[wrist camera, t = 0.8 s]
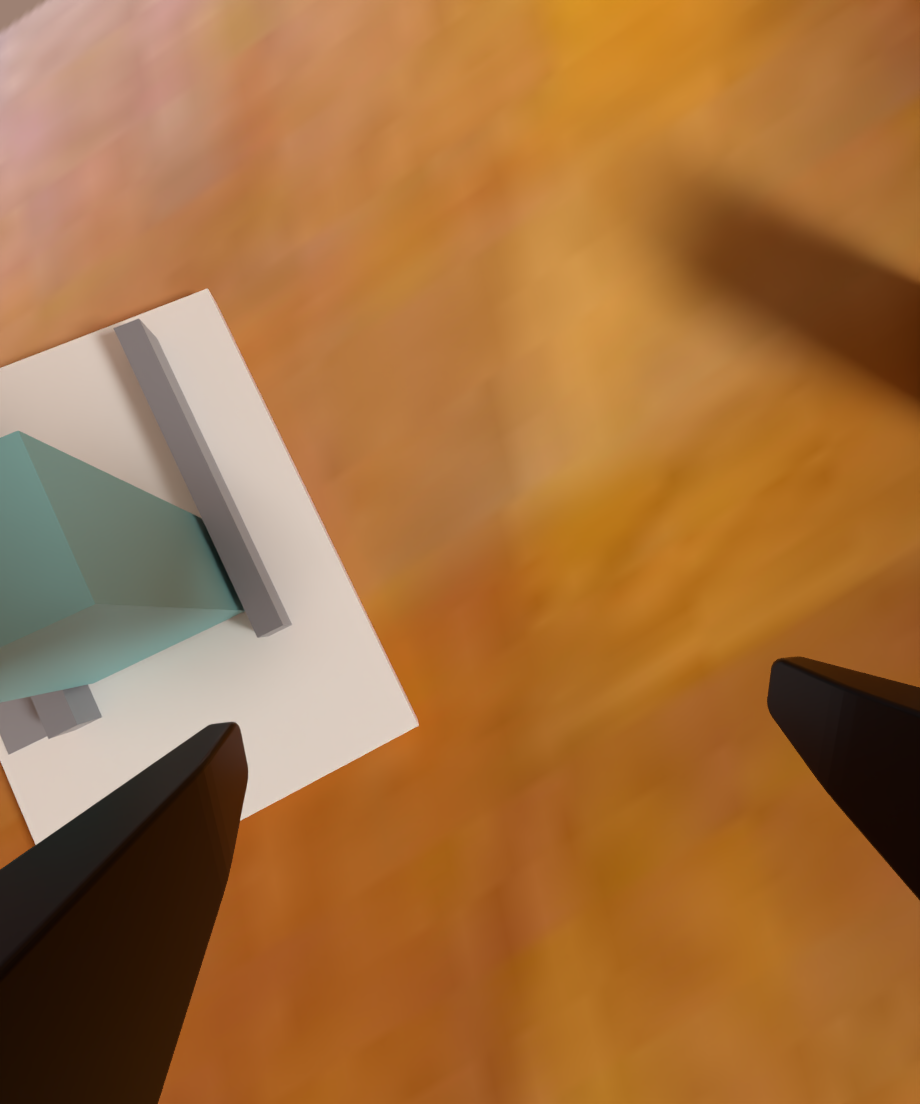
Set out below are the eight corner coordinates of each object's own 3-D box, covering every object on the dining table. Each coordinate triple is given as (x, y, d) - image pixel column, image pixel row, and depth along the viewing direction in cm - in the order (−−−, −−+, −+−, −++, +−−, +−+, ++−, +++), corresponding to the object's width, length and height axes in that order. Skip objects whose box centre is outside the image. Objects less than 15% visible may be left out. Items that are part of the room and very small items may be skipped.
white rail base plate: (418, 720, 22) (419, 733, 19) (82, 899, 20) (35, 939, 17) (216, 302, 23) (193, 264, 21) (-117, 431, 21) (-186, 407, 19)
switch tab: (246, 610, 21) (95, 603, 11) (93, 683, 20) (-222, 748, 10) (203, 519, 21) (18, 430, 11) (51, 587, 20) (-297, 556, 10)
